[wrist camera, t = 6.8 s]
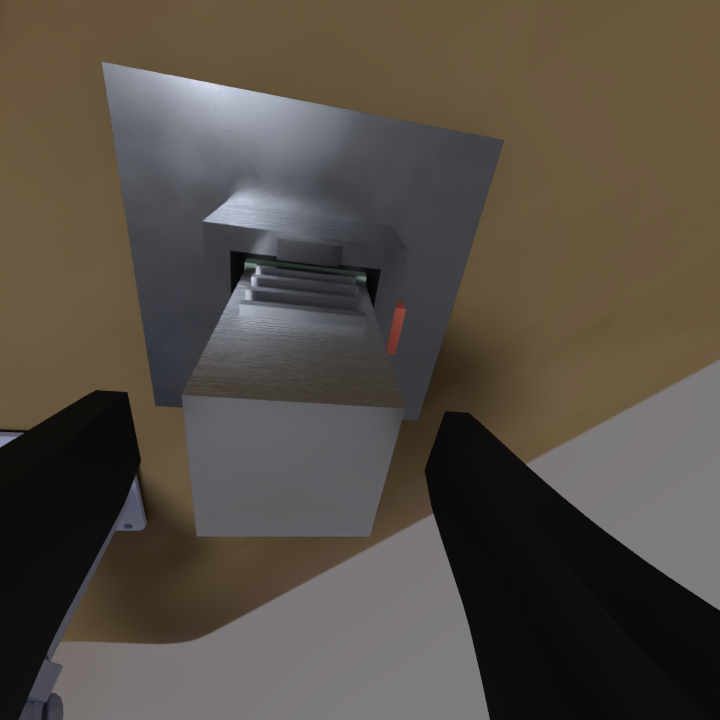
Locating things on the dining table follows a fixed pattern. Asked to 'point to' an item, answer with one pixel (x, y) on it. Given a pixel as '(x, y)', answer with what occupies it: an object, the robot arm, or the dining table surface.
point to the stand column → (292, 408)
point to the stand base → (289, 212)
